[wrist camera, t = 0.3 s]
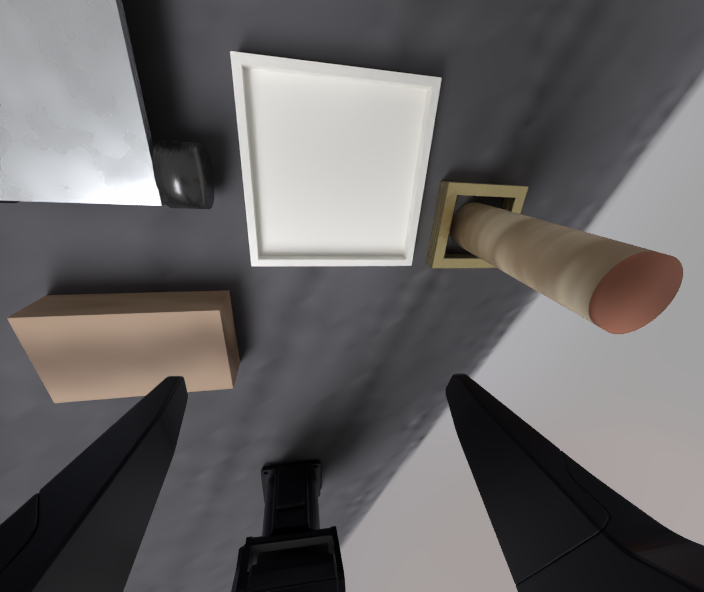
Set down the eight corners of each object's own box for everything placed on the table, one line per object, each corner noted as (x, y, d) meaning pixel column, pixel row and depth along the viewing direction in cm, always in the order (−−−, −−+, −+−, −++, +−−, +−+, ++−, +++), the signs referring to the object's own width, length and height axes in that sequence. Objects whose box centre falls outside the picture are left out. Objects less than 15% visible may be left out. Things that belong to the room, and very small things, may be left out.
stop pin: (484, 247, 24) (652, 332, 13) (445, 246, 24) (585, 336, 12) (496, 202, 23) (700, 255, 11) (454, 201, 22) (626, 254, 11)
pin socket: (494, 262, 25) (503, 267, 24) (426, 263, 24) (432, 268, 23) (517, 185, 22) (528, 186, 21) (441, 180, 21) (449, 182, 20)
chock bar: (240, 359, 25) (233, 388, 22) (86, 369, 23) (54, 403, 20) (229, 288, 22) (219, 310, 19) (50, 292, 20) (6, 318, 17)
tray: (406, 260, 24) (411, 265, 22) (253, 260, 21) (251, 266, 20) (433, 81, 18) (441, 77, 17) (234, 57, 16) (230, 51, 15)
